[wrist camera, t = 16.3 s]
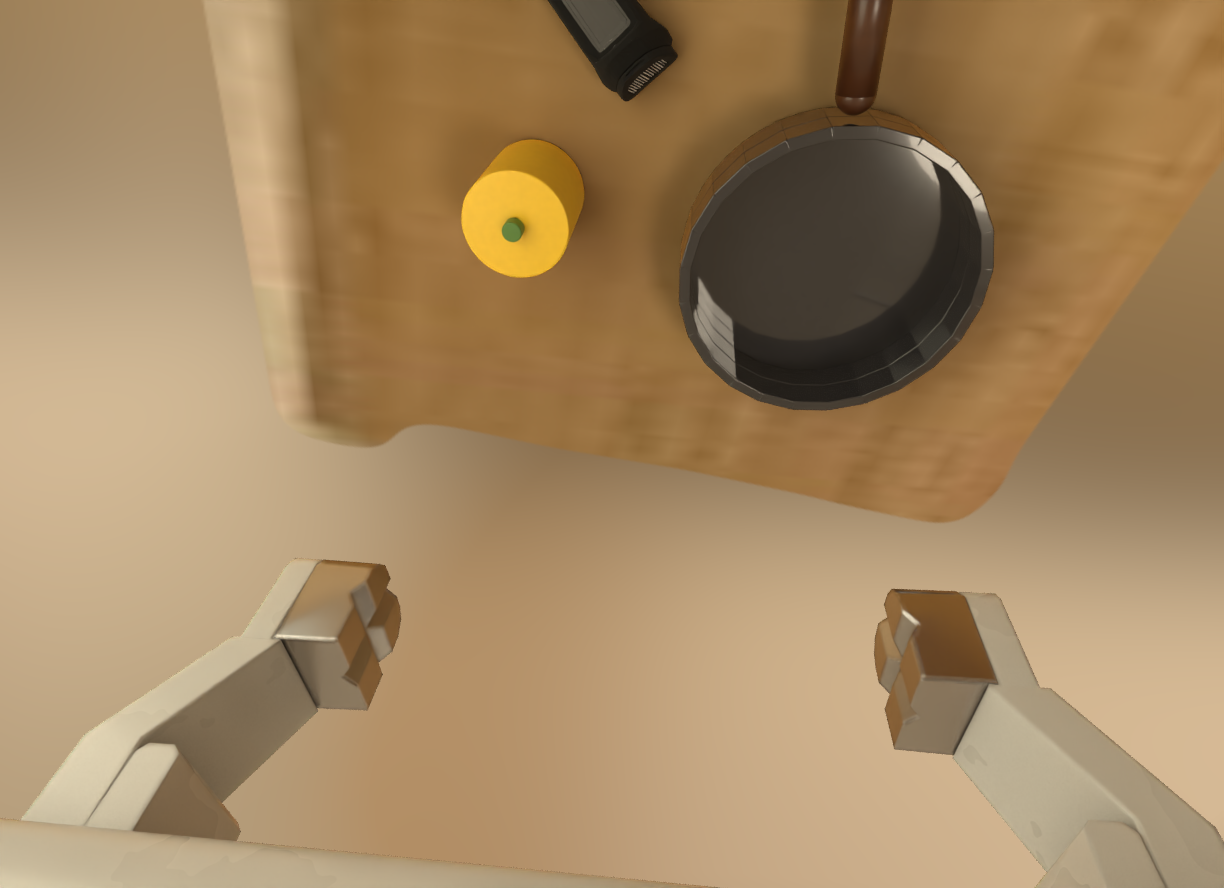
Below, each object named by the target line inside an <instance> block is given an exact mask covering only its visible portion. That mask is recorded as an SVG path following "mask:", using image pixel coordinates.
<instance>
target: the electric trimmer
mask: <svg viewBox="0 0 1224 888" xmlns="http://www.w3.org/2000/svg"><path fill="white" fill-rule="evenodd" d="M548 1H549V3H550V4H551V6H552V7H553V8H554V10H555V11H556V13H557V14H558V16H559V17H560V19H561V20H562V22H563V23H564V24H565V26H566V27H567V29H568V30H569V32H570V33H571V35H572V36H573V38H574V39H575V40H576V42H577V43H578V45H579V46H580V48H581V49H582V51H583V52H584V54H585V55H586V56H587V58H588V59H589V61H590V62H591V64H592V65H593V67H594V68H595V70H596V72H597V74H598V75H599V77H600V79H601V81H602V83H603V84H604V85H605V86H606V87H608V88H609V89H610V90H611V91H614V92H617V93H618V94H619V96H620V97H621V99H623V100H624V101H629V100H631V99H632V98H634V97H635V96H636V95H637V94H638V93H639V92H640V91H642V90H643V89H644V88H645V87H646V86H647V85H648V84H649V83H650V82H652V81H653V80H654V79H655V78H656V77H657V76H658V75H659V74H661V73H662V72H663V71H664V70H665V69H666V68H667V67H668V66H670V65H671V64H672V63H673V62H674V61H675V60H676V59H677V53H676V52H675V50H674V49H673V47H672V46H671V44H672V38H671V36H670V34H669V32H668V30H667V29H666V28H665V27H664V26H662V25H661V24H659V23H658V22H656V21H655V20H653V19H652V18H650V17H649V16H648V14H647V13H646V12H645V11H644V9H643V8H642V7H641V5H640V4H639V3H638V1H637V0H548Z"/></svg>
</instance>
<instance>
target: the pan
mask: <svg viewBox="0 0 1224 888" xmlns="http://www.w3.org/2000/svg"><path fill="white" fill-rule="evenodd" d="M993 268H994V230H993V225H992V222H991V219H990V216H989V212H988V209H987V206H986V203H985V200H984V197H983V194H982V193H981V190H980V189H979V188H978V186H977V185H976V184H975V182H974V181H973V180H972V178H971V177H970V176H969V174H968V173H967V172H966V171H965V169H964V168H963V167H962V165H961V164H960V163H959V161H958V160H957V159H956V158H955V157H954V156H953V155H952V154H951V153H950V152H949V151H948V150H947V149H946V148H945V147H944V146H943V145H942V144H941V143H940V142H939V141H937V140H936V139H935V138H934V137H932V136H931V135H929V134H928V133H926V132H925V131H923V130H922V129H921V128H919V127H918V126H916V125H914V124H912V123H911V122H909V121H908V120H906V119H904V118H902V117H898V116H895V115H892V114H890V113H887V112H884V111H880V110H875V109H868V110H867V111H865V112H864V113H862V114H859V115H854V116H852V115H847V114H845V113H843V112H842V111H841V110H840V109H839V108H838V107H828V108H819V109H815V110H810V111H806V112H801V113H798V114H795V115H793V116H790V117H787V118H784V119H782V120H779V121H777V122H775V123H773V124H771V125H769V126H767V127H765V128H763V129H761V130H760V131H758V132H757V133H755V134H754V135H752V136H751V137H749V138H748V139H746V140H745V141H744V142H742V143H741V144H740V145H739V146H738V147H737V148H735V149H734V150H733V151H732V152H731V153H730V154H728V155H727V156H726V157H725V159H724V160H723V161H722V162H721V163H720V164H719V165H718V166H717V168H716V169H715V170H714V171H713V172H712V174H711V175H710V177H709V178H708V179H707V181H706V182H705V184H704V185H703V187H702V188H701V190H700V192H699V194H698V196H697V198H696V200H695V202H694V203H693V206H692V207H691V211H690V214H689V217H688V219H687V222H686V227H685V231H684V234H683V237H682V242H681V255H680V275H679V305H680V309H681V312H682V316H683V320H684V323H685V327H686V331H687V334H688V337H689V338H690V340H691V342H692V343H693V345H694V347H695V348H696V350H697V351H698V353H699V355H700V356H701V358H702V360H703V361H704V363H706V365H707V366H708V367H709V368H711V369H712V370H713V371H714V372H715V373H716V374H717V375H718V376H719V377H720V378H721V379H723V380H724V381H725V382H726V383H727V384H728V385H730V386H731V387H733V388H734V389H736V390H738V391H740V392H742V393H744V394H746V395H748V396H750V397H752V398H754V399H756V400H757V401H760V402H764V403H768V404H772V405H776V406H780V407H784V408H788V409H793V410H833V409H839V408H844V407H850V406H855V405H861V404H864V403H868V402H870V401H873V400H875V399H878V398H880V397H883V396H885V395H888V394H890V393H893V392H895V391H898V390H900V389H902V388H903V387H905V386H906V385H908V384H909V383H911V382H912V381H914V380H915V379H917V378H919V377H920V376H922V375H923V374H925V373H926V372H928V371H929V370H931V369H932V368H934V367H935V366H936V365H937V364H938V363H939V362H940V361H941V360H942V359H943V358H944V357H945V356H946V355H947V354H948V353H949V352H950V351H951V350H952V349H953V348H954V347H955V346H956V345H957V344H958V343H959V342H960V340H961V339H962V338H963V336H964V334H965V333H966V331H967V329H968V328H969V326H970V325H971V323H972V321H973V320H974V318H975V317H976V315H977V313H978V312H979V310H980V309H981V306H982V304H983V301H984V298H985V295H986V291H987V288H988V285H989V282H990V279H991V275H992V272H993Z"/></svg>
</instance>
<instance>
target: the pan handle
mask: <svg viewBox="0 0 1224 888" xmlns="http://www.w3.org/2000/svg"><path fill="white" fill-rule="evenodd" d="M892 4H893V0H849V1H848V8H847V15H846V22H845V29H844V36H843V43H842V50H841V57H840V64H839V71H838V78H837V85H836V92H835V100H836V104H837V106H838V108H839V109H840V110H841V111H842V112H843V113H845V114H847V115H852V116H854V115H859V114H862V113H864V112H865V111H867V110H868V109H869V108H870V107H871V106H872V104H873V103H874V101H875V98H876V95H877V89H878V84H879V78H880V72H881V67H882V61H883V55H884V49H885V44H886V38H887V32H888V27H889V21H890V15H891V9H892Z"/></svg>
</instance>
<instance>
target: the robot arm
mask: <svg viewBox="0 0 1224 888" xmlns="http://www.w3.org/2000/svg"><path fill="white" fill-rule="evenodd" d="M389 581H390V576H389V573H388V571H387V569H386V566H385V565H381V564H372V563H359V562H345V561H333V560H316V559H301V558H295V559H294V560H292V561H291V562H289V563H288V564H287V565H286V566H285V568H284V569H283V571H282V572H281V574H280V576H279V577H278V579H277V580H276V582H275V583H274V585H273V587H272V588H271V590H270V592H269V593H268V594H267V596H266V598H265V599H264V601H263V602H262V604H261V605H260V607H259V608H258V610H257V612H256V613H255V615H254V616H253V618H252V620H251V621H250V623H249V624H248V626H247V627H246V629H245V630H244V632H243V634H242V635H241V637H230V638H229V639H227V640H226V641H224V642H223V643H222V644H220V645H218V646H217V647H215V648H214V649H212V650H211V651H209V652H208V653H207V654H205V655H203V656H202V657H200V658H199V659H197V660H196V661H194V662H193V663H191V664H190V665H188V666H187V667H185V668H184V669H182V670H181V671H179V672H178V673H176V674H175V675H173V676H172V677H170V678H169V679H167V680H166V681H164V682H163V683H161V684H160V685H158V686H157V687H155V688H154V689H152V690H151V691H149V692H148V693H146V694H145V695H143V696H142V697H140V698H139V699H137V700H136V701H134V702H133V703H131V704H130V705H128V706H126V707H125V708H124V709H122V710H120V711H119V712H117V713H116V714H114V715H113V716H111V717H110V718H108V719H107V720H105V721H104V722H102V723H101V724H100V725H98V726H96V727H95V728H93V729H92V730H90V731H89V732H87V733H86V734H84V736H83V737H82V738H81V740H80V741H79V742H78V744H77V745H76V746H75V748H74V749H73V750H72V752H71V753H70V755H69V756H68V757H67V758H66V760H65V761H64V762H63V764H62V765H61V766H60V768H59V769H58V770H57V772H56V773H55V774H54V776H53V777H52V779H51V780H50V781H49V782H48V784H47V785H46V786H45V788H44V789H43V790H42V792H41V793H40V794H39V796H38V797H37V799H36V800H35V801H34V802H33V804H32V805H31V807H30V808H29V809H28V810H27V812H26V813H25V814H24V816H23V817H22V818H21V820H14V819H3V818H0V888H718V887H708V886H696V885H686V884H676V883H666V882H656V881H646V880H635V879H625V878H615V877H604V876H594V875H583V874H573V873H563V872H552V871H543V870H532V869H522V868H512V867H500V866H491V865H481V864H471V863H460V862H449V861H439V860H429V859H417V858H408V857H398V856H386V855H377V854H367V853H356V852H346V851H336V850H325V849H314V848H304V847H294V846H284V845H273V844H263V843H253V842H241V841H237V839H238V836H239V834H240V832H241V831H240V828H239V824H238V822H237V821H236V820H235V819H234V817H233V816H232V815H231V814H230V812H229V811H228V810H227V809H226V807H225V806H224V805H223V804H222V802H223V801H224V800H225V799H226V798H227V797H228V796H229V795H230V794H231V793H232V792H234V791H235V790H236V789H237V788H238V787H239V786H240V785H241V784H242V783H243V782H244V781H245V780H246V779H247V778H248V777H249V776H250V775H251V774H252V773H253V772H255V771H256V770H257V769H258V768H259V767H260V766H261V765H262V764H263V763H264V762H265V761H266V760H267V759H268V758H269V757H270V756H271V755H272V754H274V753H275V752H276V751H277V750H278V749H279V748H280V747H281V746H282V745H283V744H284V743H285V742H286V741H287V740H288V739H289V738H290V737H291V736H292V735H294V734H295V733H296V732H297V731H298V729H300V728H301V727H302V726H303V725H304V724H305V723H306V722H307V721H308V720H309V719H310V718H311V717H312V716H313V715H314V714H316V713H317V712H318V709H317V708H326V709H349V710H368V708H369V706H370V703H371V701H372V699H373V696H374V693H375V692H376V689H377V687H378V684H379V682H380V680H381V677H382V675H383V674H382V672H381V668H380V666H379V663H378V662H380V661H381V660H382V659H383V658H385V657H386V656H387V655H388V654H390V653H391V652H392V651H393V648H394V646H395V643H396V640H397V638H398V634H399V628H400V622H401V613H400V605H399V602H398V599H397V597H396V596H395V595H394V594H393V593H392V592H390V591H389V590H388V589H387V586H388V583H389ZM884 606H885V610H886V614H887V618H886V619H884V620H883V621H881V622H880V623H879V624H878V627H877V631H876V635H875V648H874V657H875V666H876V672H877V676H878V681H879V683H880V684H881V685H882V686H883V687H884V688H885V689H886V690H887V691H888V693H889V694H890V695H889V698H888V701H887V704H886V707H885V712H886V716H887V720H888V724H889V729H890V732H891V737H892V741H893V746H894V749H897V750H907V751H917V752H927V753H937V754H947V755H954V756H953V759H954V760H955V761H956V763H957V764H958V765H959V766H960V767H961V769H962V770H963V771H964V772H965V774H966V775H967V776H968V777H969V778H970V780H971V781H972V782H973V783H974V784H975V786H976V787H977V788H978V789H979V791H980V792H981V793H982V794H983V795H984V797H985V798H986V799H987V800H988V801H989V803H990V804H991V805H992V806H993V808H994V809H995V810H996V811H997V813H998V814H999V815H1000V816H1001V817H1002V819H1003V820H1004V821H1005V822H1006V823H1007V825H1008V826H1009V827H1010V828H1011V830H1012V831H1013V832H1014V833H1015V834H1016V836H1017V837H1018V838H1019V839H1020V840H1021V842H1022V843H1023V844H1024V845H1025V846H1026V848H1027V849H1028V850H1029V851H1030V853H1031V854H1032V855H1033V856H1034V857H1035V859H1036V860H1037V861H1038V862H1039V864H1040V865H1041V866H1042V867H1043V868H1044V870H1045V871H1046V872H1047V873H1046V874H1045V875H1044V877H1043V878H1042V879H1041V880H1040V882H1039V883H1038V884H1037V885H1036V887H1035V888H1224V841H1223V840H1222V838H1221V836H1220V834H1219V832H1218V831H1217V829H1216V827H1215V826H1213V825H1212V824H1211V823H1210V822H1209V821H1207V820H1206V819H1205V818H1204V817H1202V816H1201V815H1200V814H1199V813H1198V812H1197V811H1196V810H1194V809H1193V808H1192V807H1191V806H1189V805H1188V804H1187V803H1186V802H1185V801H1184V800H1182V799H1181V798H1180V797H1179V796H1178V795H1176V794H1175V793H1174V792H1173V791H1172V790H1171V789H1169V788H1168V787H1167V786H1166V785H1165V784H1164V783H1162V782H1161V781H1160V780H1159V779H1157V778H1156V777H1155V776H1154V775H1153V774H1152V773H1150V772H1149V771H1148V770H1147V769H1146V768H1145V767H1143V766H1142V765H1141V764H1140V763H1139V762H1137V761H1136V760H1135V759H1134V758H1133V757H1131V756H1130V755H1129V754H1128V753H1126V751H1124V750H1123V749H1122V748H1121V747H1120V746H1118V745H1117V744H1116V743H1115V742H1114V741H1112V740H1111V739H1110V738H1109V737H1108V736H1107V735H1105V734H1104V733H1103V732H1102V731H1101V730H1099V729H1098V728H1097V727H1096V726H1095V725H1093V724H1092V723H1091V722H1090V721H1089V720H1088V719H1086V718H1085V717H1084V716H1083V715H1082V714H1080V713H1079V712H1078V711H1077V710H1076V709H1074V708H1073V707H1072V706H1071V705H1070V704H1068V703H1067V702H1066V701H1065V700H1064V699H1063V698H1061V697H1060V696H1059V695H1058V694H1057V693H1056V692H1054V691H1053V690H1052V689H1050V688H1040V687H1039V684H1038V682H1037V680H1036V677H1035V675H1034V673H1033V671H1032V668H1031V667H1030V664H1029V662H1028V660H1027V657H1026V655H1025V653H1024V651H1023V648H1022V646H1021V644H1020V641H1019V639H1018V637H1017V634H1016V632H1015V630H1014V628H1013V625H1012V623H1011V621H1010V619H1009V617H1008V614H1007V612H1006V610H1005V607H1004V605H1003V603H1002V600H1001V599H1000V598H999V597H998V596H997V595H996V594H992V593H970V592H959V593H958V592H956V591H934V590H907V589H891V590H890V592H889V593H888V594H887V597H886V600H885V603H884Z"/></svg>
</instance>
